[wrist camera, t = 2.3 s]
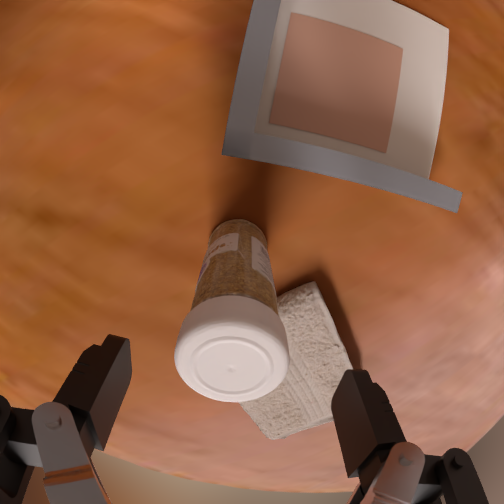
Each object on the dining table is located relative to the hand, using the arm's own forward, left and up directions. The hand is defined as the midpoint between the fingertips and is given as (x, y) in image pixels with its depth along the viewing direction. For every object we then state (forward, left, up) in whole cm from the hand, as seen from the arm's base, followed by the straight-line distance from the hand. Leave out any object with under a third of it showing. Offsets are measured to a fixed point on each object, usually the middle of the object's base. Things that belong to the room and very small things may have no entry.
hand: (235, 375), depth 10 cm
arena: (+6, +15, -14) cm, 21 cm away
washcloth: (+7, -12, -15) cm, 20 cm away
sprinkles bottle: (0, 0, -14) cm, 14 cm away
